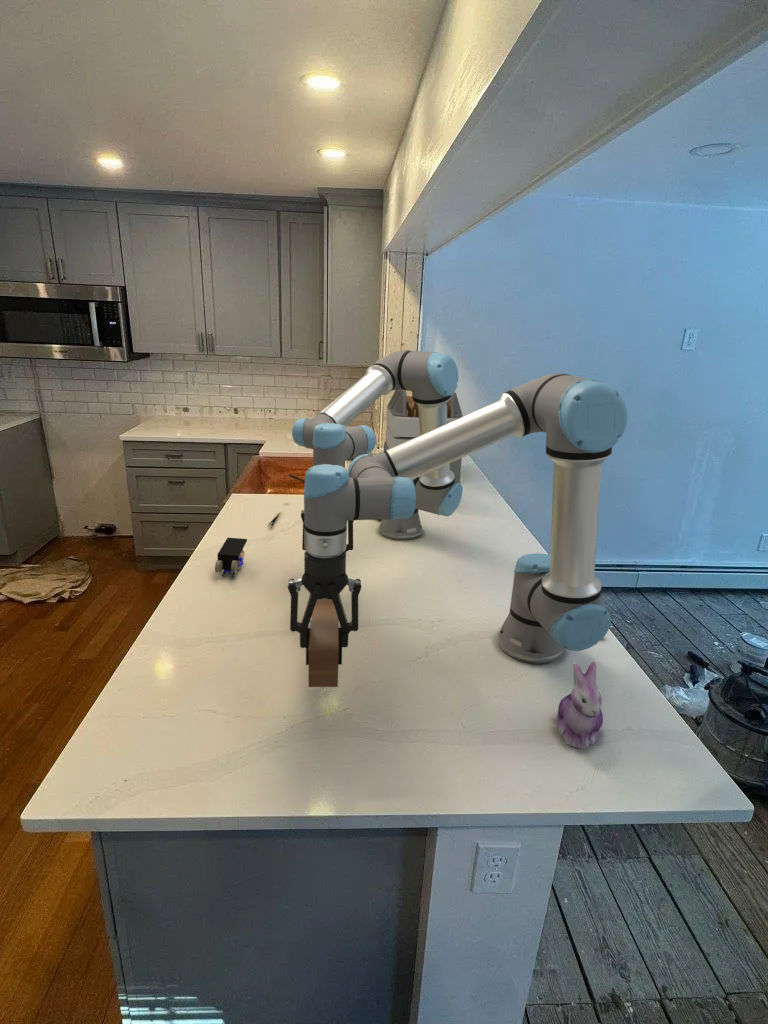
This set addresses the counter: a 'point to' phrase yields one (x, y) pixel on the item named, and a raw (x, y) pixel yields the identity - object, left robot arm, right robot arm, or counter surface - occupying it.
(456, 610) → the counter surface
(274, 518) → the feather
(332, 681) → the bar
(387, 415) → the grey slatted crate
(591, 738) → the figurine
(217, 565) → the black boxy wheeled piece
